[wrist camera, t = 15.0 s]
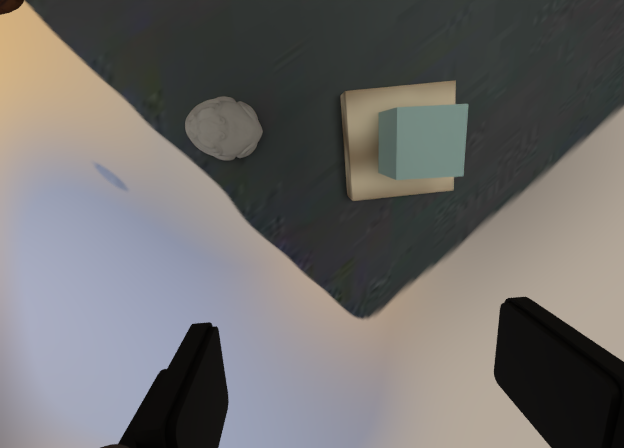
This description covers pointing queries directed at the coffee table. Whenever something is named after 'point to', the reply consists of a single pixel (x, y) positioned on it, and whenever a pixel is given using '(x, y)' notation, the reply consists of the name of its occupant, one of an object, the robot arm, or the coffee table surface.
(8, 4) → the wooden figurine
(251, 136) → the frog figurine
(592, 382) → the robot arm
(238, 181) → the coffee table surface
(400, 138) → the teal cube
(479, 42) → the coffee table surface
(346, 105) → the birch block
